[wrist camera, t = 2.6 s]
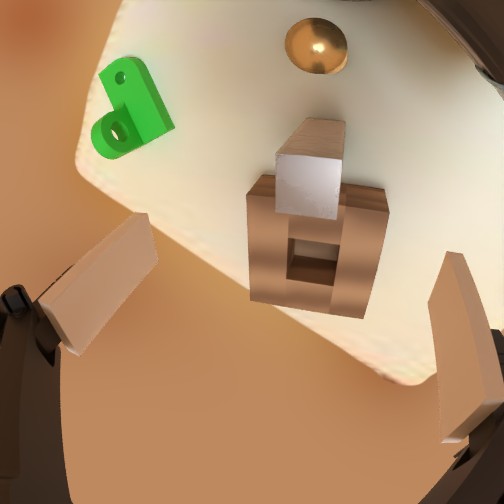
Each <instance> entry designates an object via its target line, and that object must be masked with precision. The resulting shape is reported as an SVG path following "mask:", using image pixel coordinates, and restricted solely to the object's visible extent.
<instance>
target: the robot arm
mask: <svg viewBox="0 0 504 504" xmlns="http://www.w3.org/2000/svg"><path fill="white" fill-rule="evenodd" d="M343 1H368V0H343ZM417 1H418V2H419V3H420V4H421V5H422V6H423V7H424V8H425V9H426V10H427V11H428V12H429V13H430V14H431V15H432V16H433V17H434V18H435V19H436V20H437V21H438V22H439V23H440V24H441V25H442V26H443V27H444V28H445V29H446V30H447V31H448V32H449V33H450V34H451V36H452V37H453V38H454V39H455V40H456V41H457V42H458V43H459V45H460V46H461V47H462V48H463V49H464V51H465V52H466V53H467V54H468V55H469V57H470V58H471V59H472V60H473V62H474V63H475V67H476V69H477V70H478V72H479V73H480V74H481V75H482V76H483V77H484V78H485V79H486V80H487V81H488V82H489V83H491V84H492V85H493V86H494V87H495V89H496V90H497V92H498V93H499V94H500V96H501V97H502V98H503V100H504V0H417ZM158 261H159V260H158V256H157V252H156V248H155V244H154V240H153V236H152V232H151V227H150V222H149V218H148V213H138V212H135V213H134V214H132V215H131V216H130V217H129V218H127V219H126V220H125V221H124V222H123V223H121V224H120V225H119V226H118V227H117V228H115V229H114V230H113V231H112V232H111V233H110V234H108V235H107V236H106V237H105V238H104V239H103V240H101V241H100V242H99V243H98V244H97V245H96V246H95V247H93V248H92V249H91V250H90V251H89V252H88V253H87V254H86V255H84V256H83V257H82V258H81V259H80V260H79V261H78V262H77V263H76V264H74V265H72V266H71V267H69V268H68V269H67V270H66V271H65V272H64V273H63V274H62V276H60V277H59V278H58V279H56V282H53V283H52V284H51V286H49V287H48V288H47V289H46V290H45V291H44V292H43V293H42V294H41V295H40V296H39V297H38V298H37V299H36V300H35V301H34V302H33V303H32V302H31V299H30V298H29V296H28V294H27V292H26V290H25V288H24V287H23V286H22V285H14V286H11V287H9V288H8V289H7V290H5V291H4V292H3V293H2V294H1V296H0V504H73V503H72V501H71V498H70V494H69V488H68V483H67V476H66V469H65V461H64V452H63V442H62V429H61V410H60V359H61V351H60V347H59V346H58V344H59V343H60V342H61V341H62V342H63V344H64V345H65V347H66V348H67V350H68V351H70V352H72V353H74V354H76V355H78V356H81V354H82V353H83V352H84V350H85V349H86V348H87V346H88V345H89V344H90V343H91V342H92V340H93V339H94V338H95V336H96V335H97V334H98V333H99V331H100V330H101V329H102V328H103V326H104V325H105V324H106V323H107V321H108V320H109V319H110V318H111V317H112V315H113V314H114V313H115V312H116V310H117V309H118V308H119V306H121V305H122V303H123V302H124V301H125V300H126V299H127V297H128V296H129V295H130V294H131V292H132V291H133V290H134V289H135V288H136V287H137V286H138V285H139V283H140V282H141V281H142V280H143V279H144V278H145V276H146V275H147V274H148V273H149V272H150V271H151V269H152V268H153V267H154V266H155V265H156V264H157V263H158ZM428 308H429V314H430V320H431V326H432V333H433V340H434V348H435V356H436V366H437V376H438V390H439V408H440V443H453V442H454V443H455V442H460V441H462V440H463V439H464V438H465V437H466V436H468V435H469V444H468V445H467V446H466V447H464V448H463V449H462V450H460V451H459V452H458V453H457V454H456V455H454V458H456V457H458V458H457V459H456V460H455V462H454V463H453V464H452V465H451V467H450V468H449V469H448V470H447V472H446V473H445V474H444V475H443V476H442V478H441V479H440V480H439V481H438V482H437V484H436V485H435V486H434V487H433V488H432V489H431V491H430V492H429V493H428V494H427V495H426V496H425V497H424V498H423V499H422V500H421V501H420V502H419V503H418V504H504V336H503V335H502V333H501V332H500V331H499V330H496V329H490V327H489V323H488V320H487V317H486V314H485V311H484V308H483V305H482V302H481V299H480V296H479V294H478V291H477V288H476V285H475V283H474V280H473V278H472V275H471V273H470V270H469V268H468V265H467V263H466V260H465V258H464V256H463V254H461V253H455V252H449V251H447V252H446V255H445V258H444V261H443V264H442V267H441V270H440V272H439V275H438V278H437V280H436V283H435V286H434V288H433V291H432V293H431V296H430V298H429V301H428Z"/></svg>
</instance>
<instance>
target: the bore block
mask: <svg viewBox="0 0 504 504" xmlns="http://www.w3.org/2000/svg"><path fill="white" fill-rule="evenodd" d="M246 201H247V228H248V254H249V280H250V300H251V301H255V302H261V303H267V304H272V305H278V306H283V307H289V308H295V309H301V310H307V311H313V312H319V313H325V314H332V315H338V316H345V317H352V318H359V319H363V318H364V315H365V311H366V308H367V305H368V301H369V298H370V294H371V290H372V287H373V283H374V279H375V275H376V271H377V267H378V263H379V259H380V255H381V251H382V247H383V242H384V238H385V233H386V228H387V223H388V219H389V213H390V212H389V208H388V203H387V199H386V195H385V191H384V189H378V188H371V187H365V186H358V185H350V184H343V183H340V193H339V202H338V210H337V219H336V220H332V219H325V218H317V217H310V216H302V215H294V214H286V213H277V212H275V201H276V176H269V175H262V176H261V177H260V178H259V179H258V181H257V182H256V183H255V184H254V186H253V187H252V188H251V189H250V191H249V192H248V193H247V194H246Z"/></svg>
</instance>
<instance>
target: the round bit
mask: <svg viewBox="0 0 504 504" xmlns="http://www.w3.org/2000/svg"><path fill="white" fill-rule="evenodd" d="M285 49H286V52H287V55H288V57H289V59H290V60H291V61H292V62H293V63H294V64H295V65H296V66H297V67H298V68H300V69H302V70H304V71H306V72H309V73H315V74H334V73H337V72H339V71H341V70H342V69H343V68H344V67H345V65H346V63H347V42H346V38H345V36H344V34H343V33H342V31H341V30H340V29H339V28H338V27H337V26H336V25H335V24H333V23H332V22H330V21H328V20H325V19H321V18H307V19H304V20H301V21H299V22H297V23H296V24H295V25H293V26H292V27H291V29H290V30H289V31H288V33H287V36H286V40H285Z"/></svg>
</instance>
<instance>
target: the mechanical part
mask: <svg viewBox="0 0 504 504" xmlns="http://www.w3.org/2000/svg"><path fill="white" fill-rule="evenodd" d="M124 74H125V77H126V78H125V80H124ZM98 75H99V77H100V79H101V81H102V84H103V86H104V88H105V90H106V93H107V95H108V97H109V99H110V101H111V104H112V106H113V108H114V111H112V112H109V113H107V114H106V115H105V116H103V117H102V118H101V119H99V120H98V121H97V122H96V123H95V124H94V125H93V127H92V130H91V139H92V143H93V146H94V147H95V149H96V150H97V152H98V153H99V154H100V155H102V156H103V157H105V158H107V159H117V158H119V157H121V156H123V155H125V154H127V153H129V152H131V151H133V150H135V149H137V148H139V147H141V146H143V145H145V144H147V143H148V142H150V141H152V140H154V139H156V138H157V137H159V136H161V135H163V134H165V133H166V132H168V131H170V130H172V129H174V128H175V126H174V124H173V122H172V120H171V118H170V116H169V114H168V112H167V110H166V108H165V105H164V103H163V101H162V99H161V97H160V95H159V93H158V91H157V89H156V86H155V84H154V82H153V80H152V78H151V76H150V74H149V71H148V69H147V67H146V65H145V64H144V63H143V62H142V61H141V60H140V59H138V58H134V57H129V58H120V59H117V60H115V61H114V62H112V63H111V64H110V65H109V66H108V67H106V68H105V69H104V70H103V71H102V72H101V73H99V74H98ZM111 129H112V130H113V131H114V132H115V133H116V134H117V136H118V140H119V141H118V140H117V139H116V138H115V137H114V136H113V134H112V131H111Z"/></svg>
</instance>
